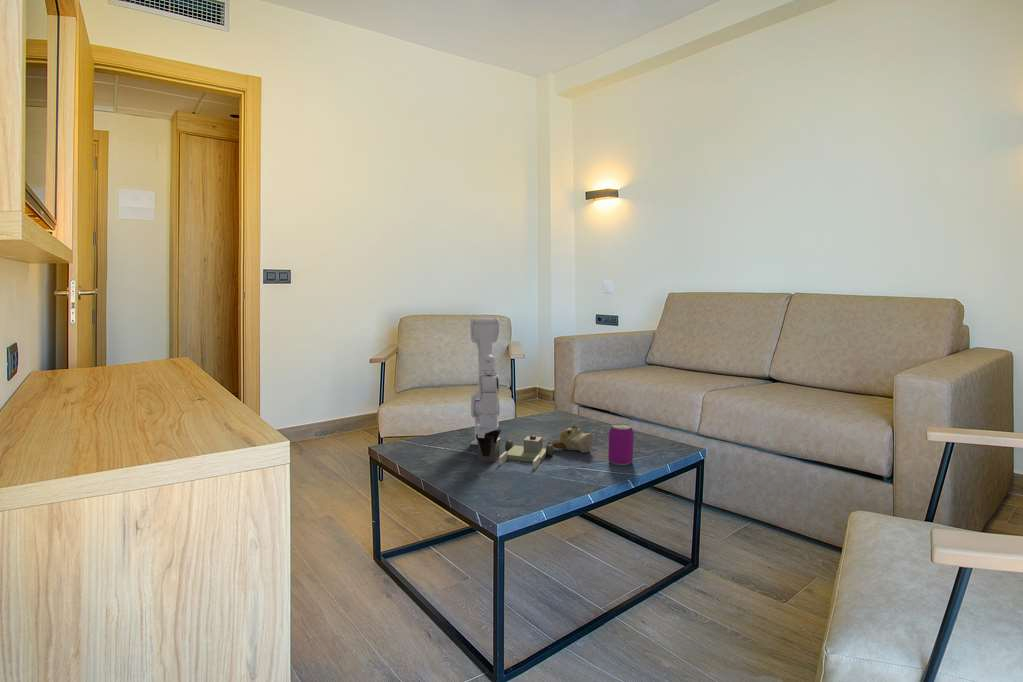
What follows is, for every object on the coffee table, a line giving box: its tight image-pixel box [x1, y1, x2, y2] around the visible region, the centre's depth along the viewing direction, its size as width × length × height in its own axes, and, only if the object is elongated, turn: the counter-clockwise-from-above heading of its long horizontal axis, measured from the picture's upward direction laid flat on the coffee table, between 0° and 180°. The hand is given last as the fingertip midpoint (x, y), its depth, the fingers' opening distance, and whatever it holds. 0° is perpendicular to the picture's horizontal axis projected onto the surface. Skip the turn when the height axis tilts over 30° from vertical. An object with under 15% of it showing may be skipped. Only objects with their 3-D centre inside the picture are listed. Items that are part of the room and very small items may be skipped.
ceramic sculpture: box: [546, 425, 593, 454], centre depth 194 cm, size 11×9×15 cm
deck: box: [498, 434, 555, 470], centre depth 184 cm, size 16×16×6 cm
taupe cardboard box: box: [477, 438, 500, 463], centre depth 184 cm, size 4×6×6 cm, turn 72°
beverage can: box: [607, 422, 635, 466], centre depth 181 cm, size 8×8×12 cm
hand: (488, 453), depth 184 cm, fingers open, 4 cm apart
